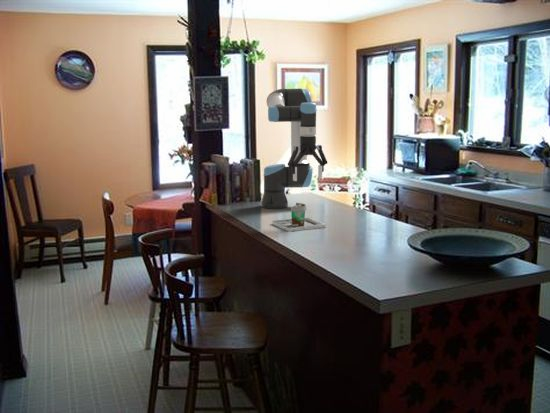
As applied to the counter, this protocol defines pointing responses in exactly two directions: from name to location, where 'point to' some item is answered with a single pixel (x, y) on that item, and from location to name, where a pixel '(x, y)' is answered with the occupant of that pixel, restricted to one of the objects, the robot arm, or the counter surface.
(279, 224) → the grey square frame
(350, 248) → the counter surface
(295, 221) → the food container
